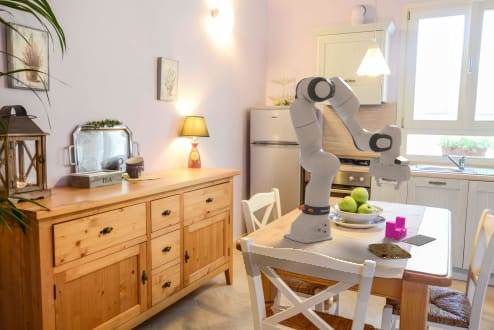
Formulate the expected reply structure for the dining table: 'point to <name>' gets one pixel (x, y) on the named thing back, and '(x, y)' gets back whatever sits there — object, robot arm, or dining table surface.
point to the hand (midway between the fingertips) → (387, 187)
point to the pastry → (388, 250)
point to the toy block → (396, 228)
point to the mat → (419, 240)
